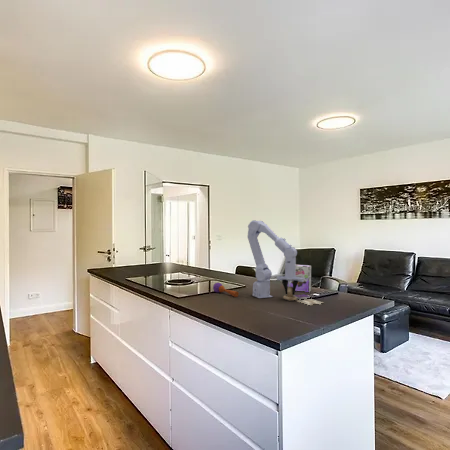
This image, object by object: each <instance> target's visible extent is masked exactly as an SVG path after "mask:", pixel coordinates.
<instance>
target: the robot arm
mask: <svg viewBox="0 0 450 450" xmlns="http://www.w3.org/2000/svg"><path fill="white" fill-rule="evenodd" d="M247 228H248V229H247V239H248V243H249V247H250V250H251V253H252V256H253V260H254V263H255V265H256V266H255V269H254V270H255V279H256V280H255V281H254V282H253V283H252V295H251V296H252V297H255V298H258V299H264V298H265V299H266V298H273V297H274V296H273V295H270V294H271V280H270V279H271V278H272V275H273V274H272V273H273V272H272V271H271V269H270V268H269V266H268V265H267V264H266V261H265V258H264V255H263V251H262V248H261V245H260V242H259V239H258V237H259V235H260V234H261V233H265V235H266V236H268V237H269V238H270V239H271V240H272V241H273V242H274V245H275V247H277V248H278V250H279V251H281V252H282V253H283V256H284V260H285V261H284V262H285V263H284V275H281V276H276V281H281V284H282V285H283V288H284V291H285V294H286V295H287V287H288V281H293V296H294V295H295V292H296V291H295V289H296V286H297V284H298V281H299V282H304V278H299V277H296V265H297V258H296V257H297V255H298V250H297V249H296V248H295V247H293V246H292V245H291V244H289V243H288V242H287V241H286V238H283V237H279V236H278V234H276V233H275V232H274V230H272V229H271V228H270V226H269V225H268V224H267V223H265V222H264V221H263V220H251V221H250V222H249V223H248V226H247Z"/></svg>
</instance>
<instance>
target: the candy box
mask: <svg viewBox="0 0 450 450" xmlns="http://www.w3.org/2000/svg"><path fill="white" fill-rule="evenodd" d="M296 277H299V278H304V282H299V281H298V284H297V286H296V289H295V292H297V291H305V292H304V293H306V292H309V293H311V292H310V291H312V290H311V289H312V265H308V264H296ZM287 287H293V281H288V284H287Z"/></svg>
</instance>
